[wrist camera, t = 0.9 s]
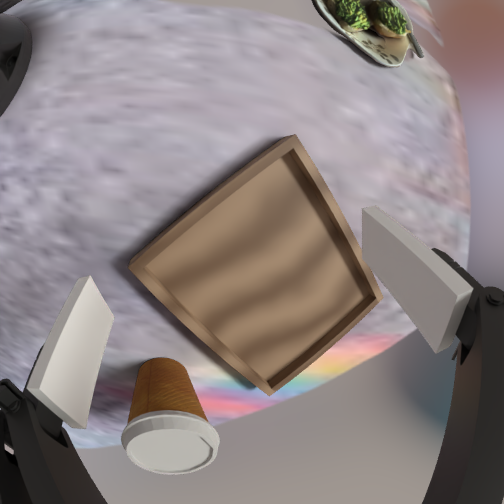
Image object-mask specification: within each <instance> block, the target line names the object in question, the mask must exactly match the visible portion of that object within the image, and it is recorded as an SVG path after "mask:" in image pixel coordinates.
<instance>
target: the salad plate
mask: <svg viewBox="0 0 504 504" xmlns="http://www.w3.org/2000/svg"><path fill="white" fill-rule="evenodd" d="M312 3H313V5H314V7H315V9H316V10H317V12H318V13H319V15H320V16H321V17H322V18H323V19H324V20H325V21H326V22H327V23H328V24H329V25H330V26H331V27H332V28H333V29H334V30H335V31H336V32H338V33H339V34H341V35H343V36H344V37H346V38H347V39H348V40H349V41H351V42H352V43H353V44H354V45H356V46H357V47H358V48H359V49H360V50H362V51H363V52H365V53H366V54H367V55H369V56H370V57H372V58H373V59H374V60H375V61H376V62H378V63H380V64H382V65H385V66H387V67H399V66H400V65H401V64H402V62H403V60H404V57H405V55H406V52H407V50H408V49H411V50H413V51H414V52H415V53H416V54H417V56H418V57H419V58H423V57H424V55H423V52H422V50H421V48H420V46H419V44H418V42H417V40H416V39H415V37H414V35H413V27H412V24H411V21H410V18H409V16H408V14H407V12H406V11H405V9H404V8H403V7H402V6H401V5H400V4H399V3H398V2H397V1H396V0H312Z"/></svg>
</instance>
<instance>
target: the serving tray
mask: <svg viewBox="0 0 504 504" xmlns="http://www.w3.org/2000/svg"><path fill="white" fill-rule="evenodd" d="M128 268H129V270H130V271H131V272H132V273H133V274H134V275H135V276H136V277H137V278H138V279H139V280H140V281H141V282H142V283H143V284H144V285H145V286H146V287H147V288H148V290H149V291H150V292H151V293H152V294H153V295H154V296H155V297H156V298H157V299H158V300H159V301H160V302H161V303H162V304H163V305H164V306H165V307H166V308H167V309H169V310H170V311H171V312H172V313H173V314H174V315H175V316H176V317H177V318H178V319H179V320H180V321H181V322H182V323H183V324H184V325H185V326H186V327H187V328H189V329H190V330H191V331H192V332H193V333H194V334H195V335H196V336H197V337H198V338H200V339H201V340H202V341H203V342H204V343H205V344H206V345H207V346H208V347H210V348H211V349H212V350H213V351H214V352H215V353H217V354H218V355H219V356H220V357H221V358H222V359H224V360H225V361H226V362H227V363H228V364H229V365H231V366H232V367H233V368H234V369H235V370H237V371H238V372H239V373H240V374H242V375H243V376H244V377H245V378H247V379H248V380H249V381H250V382H252V383H253V384H254V385H255V386H257V387H258V388H259V389H260V390H262V391H263V392H264V393H266V394H267V395H268V396H270V395H272V394H273V393H275V392H276V391H277V390H279V389H280V388H281V387H283V386H284V385H285V384H287V383H288V382H289V381H291V380H292V379H293V378H294V377H296V376H297V375H298V374H299V373H301V372H302V371H303V370H304V369H306V368H307V367H308V366H309V365H311V364H312V363H313V362H314V361H315V360H317V359H318V358H319V357H320V356H321V355H323V354H324V353H325V352H326V351H327V350H328V349H330V348H331V347H332V346H333V345H334V344H335V343H336V342H338V341H339V340H340V339H341V338H342V337H343V336H344V335H345V334H347V333H348V332H349V331H350V330H351V329H352V328H353V327H354V326H355V325H356V324H357V323H358V322H359V321H360V320H362V319H363V318H364V317H365V316H366V315H367V314H368V313H369V312H370V311H371V310H372V309H373V308H374V307H375V306H376V305H377V304H378V303H379V302H380V301H381V300H382V299H383V295H382V293H381V291H380V289H379V286H378V284H377V282H376V280H375V277H374V275H373V273H372V271H371V269H370V267H369V266H368V265H367V264H366V263H365V261H364V260H363V259H362V250H361V248H360V246H359V244H358V242H357V240H356V238H355V236H354V234H353V232H352V230H351V228H350V226H349V225H348V223H347V221H346V219H345V217H344V215H343V213H342V211H341V210H340V208H339V206H338V204H337V202H336V201H335V199H334V197H333V195H332V193H331V192H330V190H329V188H328V186H327V185H326V183H325V181H324V179H323V178H322V176H321V174H320V173H319V171H318V169H317V168H316V166H315V164H314V163H313V161H312V159H311V158H310V156H309V155H308V153H307V151H306V150H305V148H304V147H303V145H302V143H301V142H300V140H299V139H298V137H297V136H296V134H294V135H290V136H286V137H284V138H283V139H281V140H280V141H278V142H277V143H275V144H274V145H273V146H271V147H270V148H268V149H267V150H265V151H264V152H263V153H261V154H260V155H259V156H257V157H256V158H254V159H253V160H252V161H250V162H249V163H248V164H246V165H245V166H244V167H242V168H241V169H240V170H238V171H237V172H236V173H234V174H233V175H232V176H230V177H229V178H228V179H226V180H225V181H224V182H222V183H221V184H220V185H219V186H217V187H216V188H215V189H213V190H212V191H211V192H210V193H208V194H207V195H206V196H205V197H203V198H202V199H201V200H200V201H198V202H197V203H196V204H195V205H193V206H192V207H191V208H190V209H189V210H187V211H186V212H185V213H184V214H182V215H181V216H180V217H179V218H178V219H176V220H175V221H174V222H173V223H172V224H171V225H169V226H168V227H167V228H166V229H165V230H164V231H162V232H161V233H160V234H159V235H158V236H157V237H155V238H154V239H153V240H152V241H151V242H150V243H149V244H147V245H146V246H145V247H144V248H143V249H142V250H141V251H140V252H138V253H137V254H136V255H135V256H134V257H133V258H132V259H131V260H130V263H129V266H128Z"/></svg>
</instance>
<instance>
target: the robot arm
mask: <svg viewBox="0 0 504 504" xmlns="http://www.w3.org/2000/svg"><path fill="white" fill-rule="evenodd" d="M21 1H22V0H0V116H1V115H2V113H3V112H4V111H5V110H6V108H7V107H8V105H9V104H10V102H11V101H12V99H13V98H14V96H15V94H16V93H17V91H18V89H19V87H20V85H21V83H22V81H23V79H24V76H25V74H26V71H27V68H28V65H29V62H30V58H31V52H32V37H31V33H30V31H29V29H28V28H27V27H26V26H25V24H24V23H23V22H22V21H21V20H20V19H18V18H17V17H15V16H12V15H8V14H3V12H5V11H6V10H8V9H9V8H11V7H12V6H14V5H16V4H17V3H19V2H21ZM362 259H363V260H364V261H365V263H366V264H367V265H368V266H369V267H370V269H371V270H372V271H373V272H374V273H375V275H376V276H377V277H378V278H379V280H380V281H381V282H382V283H383V284H384V286H385V287H386V288H387V289H388V291H389V292H390V293H391V294H392V296H393V297H394V298H395V299H396V301H397V302H398V303H399V305H400V306H401V307H402V308H403V310H404V311H405V312H406V314H407V315H408V316H409V318H410V319H411V320H412V322H413V323H414V324H415V326H416V327H417V328H418V330H419V331H420V332H421V334H422V335H423V337H424V338H425V339H426V341H427V342H428V344H429V345H430V346H431V348H432V349H433V351H434V352H435V353H438V352H440V351H442V350H444V349H446V348H447V347H449V346H451V344H452V342H453V340H454V337H455V335H456V336H457V337H458V338H459V339H460V342H459V344H458V346H457V348H456V350H455V353H454V354H453V357H452V360H454V359H455V357H456V355H457V364H456V373H455V381H454V388H453V395H452V401H451V407H450V412H449V417H448V422H447V426H446V430H445V435H444V439H443V443H442V446H441V450H440V454H439V457H438V460H437V464H436V467H435V470H434V473H433V476H432V479H431V482H430V484H429V487H428V490H427V493H426V495H425V498H424V500H423V502H422V504H502V500H503V497H504V292H503V291H502V290H500V289H499V288H496V287H485V288H484V287H482V286H481V285H480V284H479V283H478V282H477V281H476V280H475V279H474V278H473V277H472V276H471V275H470V274H469V273H468V272H467V271H465V270H464V269H463V268H462V267H460V265H459V264H458V263H457V262H454V260H453V259H452V258H451V257H450V256H448V255H447V254H446V253H445V252H442V251H440V250H438V249H436V248H433V249H430V248H429V247H428V246H426V245H425V244H424V243H423V242H422V241H420V240H419V239H418V238H417V237H416V236H414V235H413V234H412V233H411V232H409V231H408V230H407V229H406V228H404V227H403V226H402V225H401V224H399V223H398V222H397V221H396V220H394V219H393V218H392V217H390V216H389V215H388V214H386V213H385V212H384V211H382V210H381V209H380V208H378V207H377V206H371V207H366V208H362ZM114 318H115V317H114V315H113V314H112V312H111V311H110V309H109V307H108V306H107V304H106V302H105V301H104V299H103V297H102V295H101V294H100V292H99V290H98V288H97V287H96V285H95V283H94V281H93V279H92V278H91V276H86V277H82V278H79V279H78V280H77V282H76V284H75V286H74V287H73V289H72V291H71V293H70V295H69V296H68V298H67V300H66V302H65V304H64V306H63V308H62V309H61V311H60V313H59V315H58V317H57V319H56V321H55V323H54V325H53V327H52V329H51V331H50V333H49V336H48V338H47V340H46V342H45V344H44V345H43V346H42V347H41V349H40V351H39V353H38V355H37V360H35V362H34V365H33V366H34V367H32V370H31V372H30V375H29V377H28V380H27V382H26V385H25V388H24V390H23V393H22V392H21V391H20V390H19V389H18V388H17V387H16V386H15V385H14V384H13V383H12V382H11V381H10V380H9V379H2V380H1V381H0V408H1V410H0V504H107V502H106V501H105V499H104V498H103V496H102V495H101V493H100V491H99V490H98V488H97V487H96V485H95V484H94V482H93V480H92V479H91V477H90V475H89V474H88V472H87V470H86V468H85V467H84V465H83V463H82V461H81V459H80V457H79V456H78V454H77V452H76V450H75V448H74V446H73V444H72V442H71V440H70V437H69V435H68V433H67V431H66V430H65V429H64V428H63V427H62V422H63V421H64V422H65V423H66V424H68V425H69V426H70V427H72V428H79V429H86V426H87V421H88V416H89V411H90V406H91V401H92V397H93V393H94V388H95V384H96V380H97V376H98V372H99V368H100V365H101V361H102V357H103V354H104V350H105V347H106V343H107V340H108V337H109V334H110V330H111V327H112V324H113V321H114ZM4 444H6V445H7V446H9V447H10V448H12V449H13V450H14V454H13V455H12V454H11V453H9V452H8V451H6V450H5V447H4Z"/></svg>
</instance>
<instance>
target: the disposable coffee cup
mask: <svg viewBox="0 0 504 504" xmlns="http://www.w3.org/2000/svg"><path fill="white" fill-rule="evenodd" d="M121 441H122V445H123V447H124V449H125V450H126V452H127V454H128V457H129V458H130V460H131V461H132V462H133V463H134V464H136V465H137V466H139V467H141V468H143V469H145V470H148V471H151V472H155V473H160V474H171V475H175V474H186V473H190V472H194V471H197V470H200V469H202V468H204V467H206V466H207V465H209V464H210V463H212V461H213V460H214V459H215V458H216V455H217V448H218V446H219V436H218V433H217V431H216V430H215V429H214V427H212V426H211V425H210V423H209V422H208V420H207V418H206V416H205V414H204V411H203V409H202V407H201V404H200V402H199V400H198V397H197V395H196V393H195V390H194V388H193V385H192V383H191V380H190V378H189V375H188V373H187V370H186V369H185V367H184V366H183V365H182V364H180V363H179V362H177V361H175V360H173V359H169V358H155V359H151V360H149V361H147V362H145V363H144V364H143V365H142V366H141V367H140V369H139V372H138V376H137V381H136V385H135V389H134V394H133V399H132V404H131V408H130V413H129V418H128V424H127V426H126V427H125V429H124V431H123V433H122V436H121Z"/></svg>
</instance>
